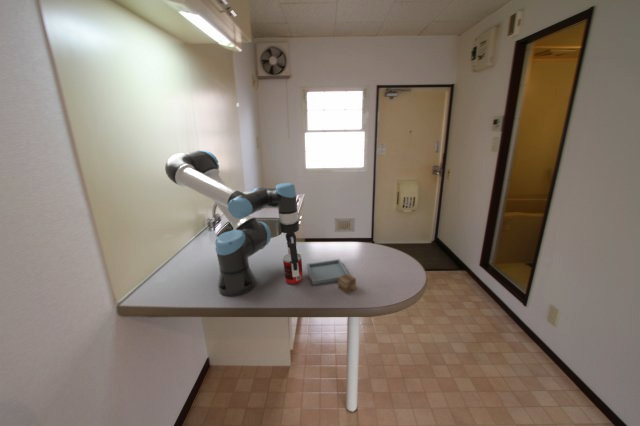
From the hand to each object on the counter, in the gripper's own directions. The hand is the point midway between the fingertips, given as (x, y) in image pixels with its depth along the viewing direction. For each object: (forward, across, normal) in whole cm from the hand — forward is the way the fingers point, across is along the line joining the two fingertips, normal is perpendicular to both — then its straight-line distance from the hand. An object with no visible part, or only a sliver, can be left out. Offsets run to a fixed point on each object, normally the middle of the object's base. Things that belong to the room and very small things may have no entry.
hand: (294, 268), depth 118 cm
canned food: (+6, 0, 0) cm, 6 cm away
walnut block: (+6, -13, -20) cm, 24 cm away
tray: (+6, +1, -15) cm, 16 cm away
